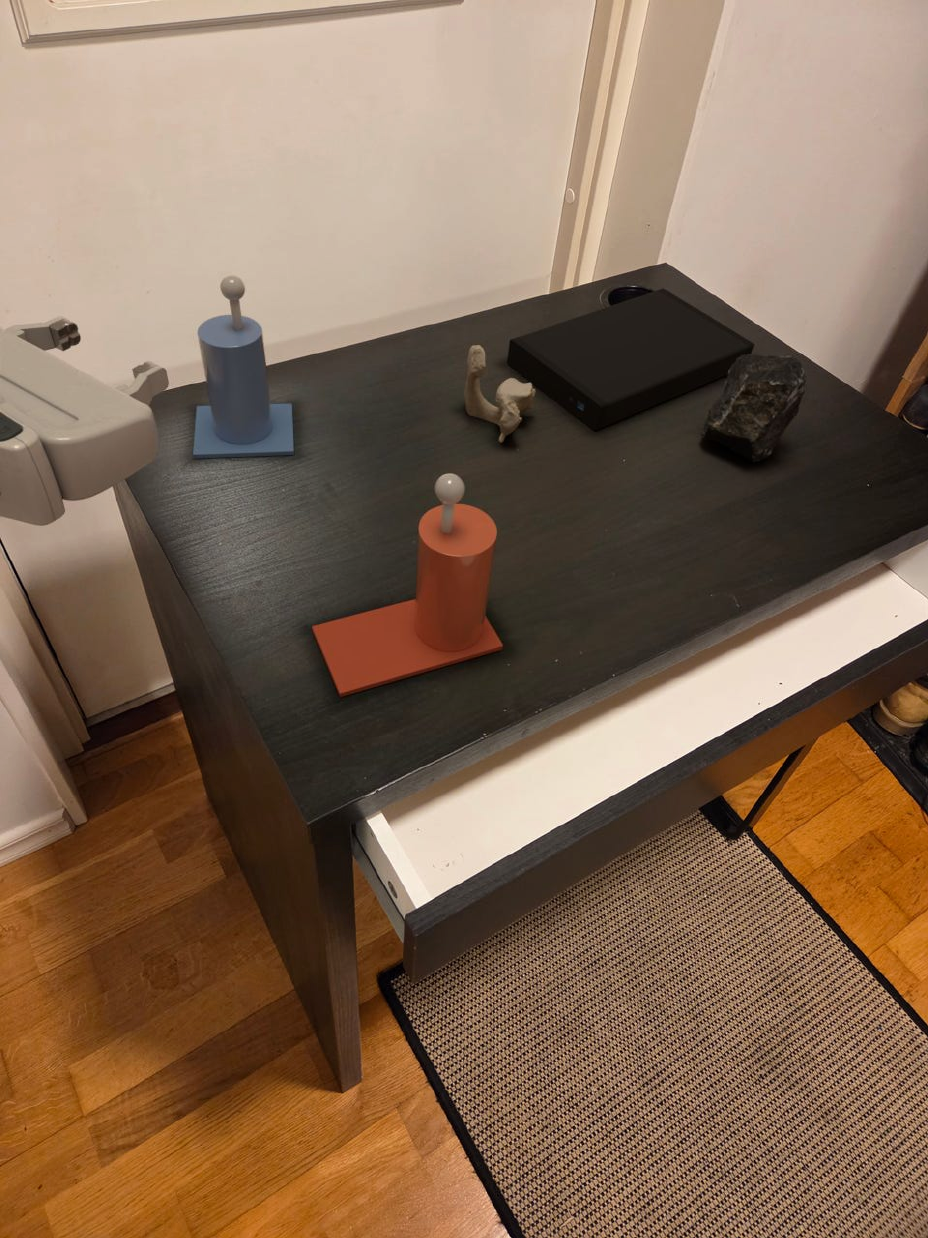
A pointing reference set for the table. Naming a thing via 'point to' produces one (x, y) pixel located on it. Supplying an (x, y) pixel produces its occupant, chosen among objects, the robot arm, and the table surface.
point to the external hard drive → (627, 356)
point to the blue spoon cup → (236, 371)
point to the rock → (756, 404)
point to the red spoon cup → (453, 569)
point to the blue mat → (271, 445)
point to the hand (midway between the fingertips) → (115, 349)
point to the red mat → (386, 648)
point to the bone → (509, 396)
